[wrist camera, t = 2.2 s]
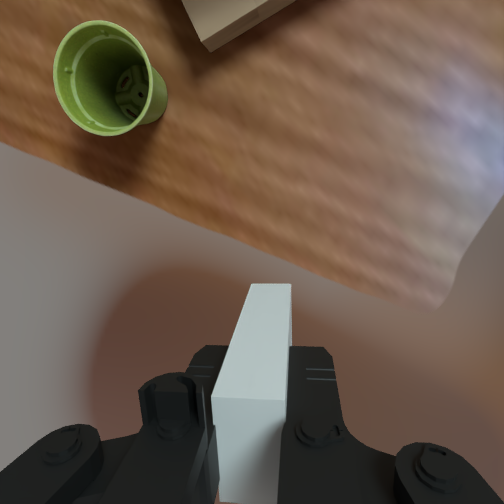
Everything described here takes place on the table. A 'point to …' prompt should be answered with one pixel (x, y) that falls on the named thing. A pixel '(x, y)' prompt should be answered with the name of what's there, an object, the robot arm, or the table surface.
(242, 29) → the dock
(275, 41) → the table surface
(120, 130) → the plant pot
